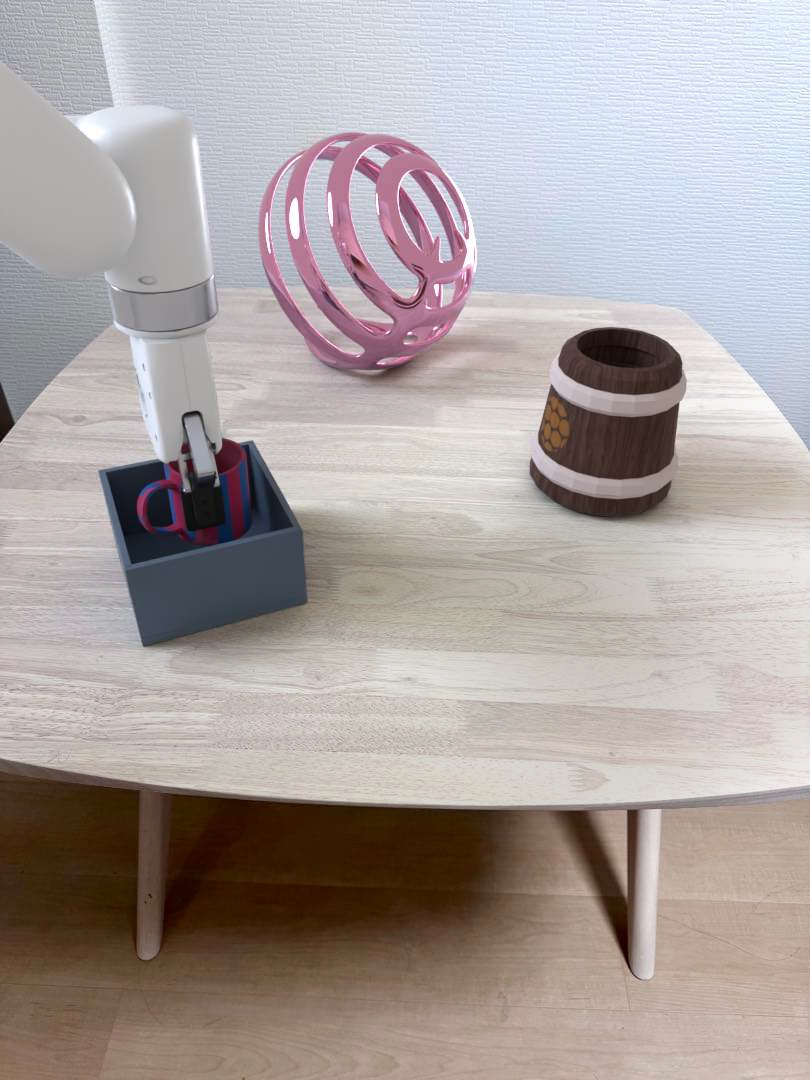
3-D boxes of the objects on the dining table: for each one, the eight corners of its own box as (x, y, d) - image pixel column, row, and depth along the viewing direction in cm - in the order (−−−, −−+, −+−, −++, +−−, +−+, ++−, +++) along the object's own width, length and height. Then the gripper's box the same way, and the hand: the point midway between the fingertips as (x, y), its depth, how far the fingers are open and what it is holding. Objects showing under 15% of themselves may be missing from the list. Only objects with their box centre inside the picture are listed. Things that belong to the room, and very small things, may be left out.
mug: (690, 522, 84) (728, 384, 74) (538, 523, 83) (558, 384, 74) (638, 421, 99) (664, 298, 90) (510, 422, 99) (524, 297, 90)
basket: (302, 528, 68) (252, 439, 79) (124, 570, 64) (97, 470, 75) (307, 603, 73) (260, 509, 84) (142, 646, 69) (115, 541, 79)
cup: (267, 527, 74) (261, 460, 70) (162, 572, 68) (149, 502, 64) (227, 493, 78) (219, 428, 74) (125, 533, 72) (110, 465, 68)
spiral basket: (185, 182, 105) (312, 65, 85) (354, 199, 124) (491, 106, 104) (238, 402, 107) (376, 338, 87) (397, 386, 126) (541, 330, 105)
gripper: (95, 265, 66) (135, 459, 77) (130, 356, 54) (171, 573, 65) (191, 254, 69) (216, 444, 80) (246, 338, 56) (267, 550, 67)
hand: (196, 500), depth 72 cm, fingers closed on cup, 6 cm apart
